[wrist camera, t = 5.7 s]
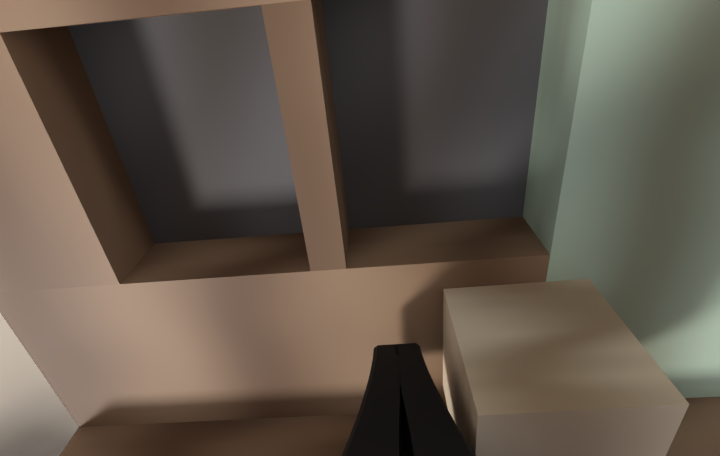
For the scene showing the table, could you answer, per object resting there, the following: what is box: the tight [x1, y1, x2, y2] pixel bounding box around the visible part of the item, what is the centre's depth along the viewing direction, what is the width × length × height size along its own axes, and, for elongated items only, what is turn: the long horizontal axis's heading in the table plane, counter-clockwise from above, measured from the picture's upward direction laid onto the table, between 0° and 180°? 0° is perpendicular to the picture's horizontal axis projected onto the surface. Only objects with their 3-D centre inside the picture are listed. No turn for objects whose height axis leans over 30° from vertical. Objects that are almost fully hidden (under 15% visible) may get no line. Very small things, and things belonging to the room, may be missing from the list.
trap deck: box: [0, 0, 720, 456], centre depth 11 cm, size 22×15×4 cm, turn 95°
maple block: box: [443, 279, 689, 456], centre depth 11 cm, size 4×4×4 cm
